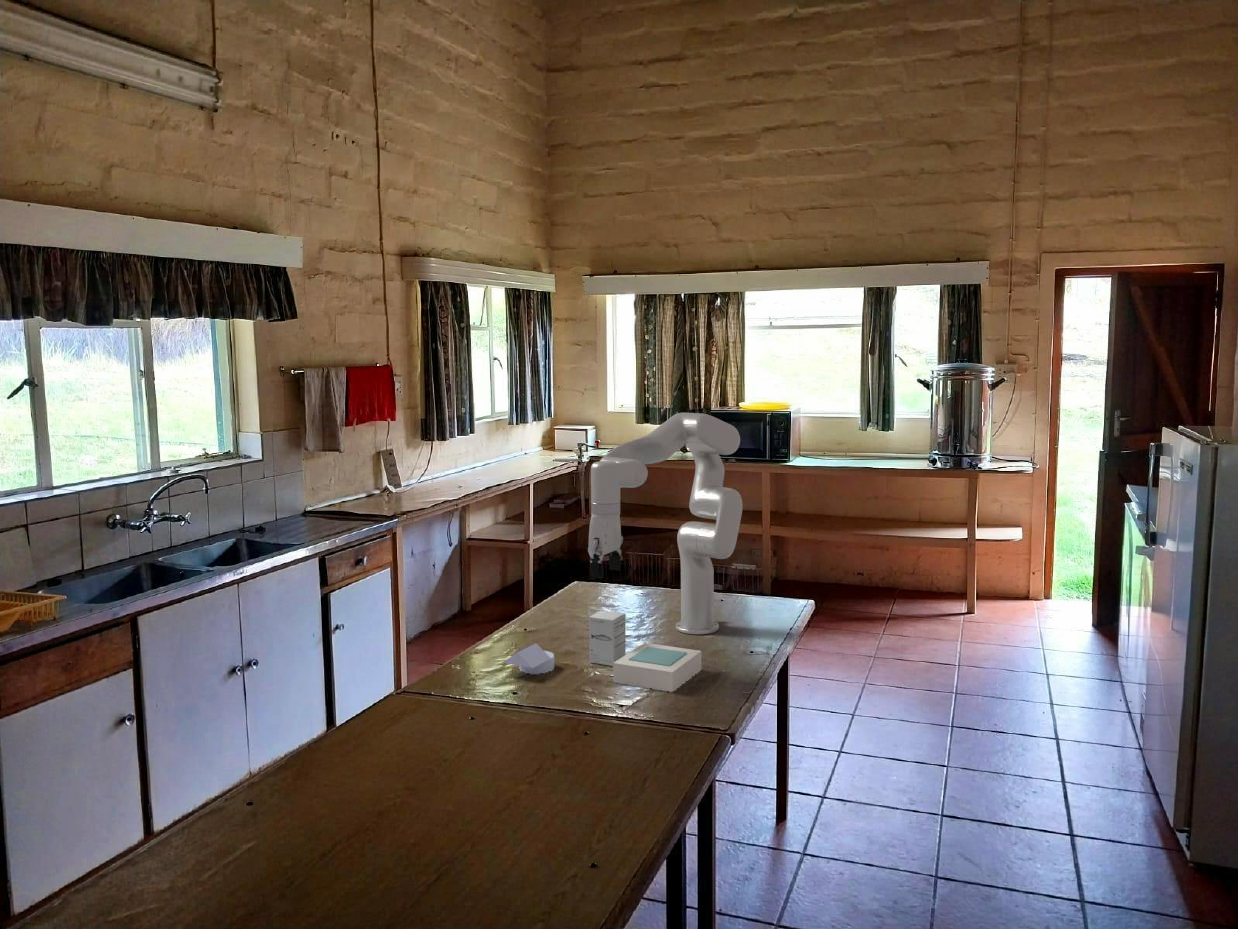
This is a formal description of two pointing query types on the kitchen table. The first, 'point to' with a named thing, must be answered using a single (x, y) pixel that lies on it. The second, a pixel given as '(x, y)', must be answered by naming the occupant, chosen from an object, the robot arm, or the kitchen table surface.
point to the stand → (657, 667)
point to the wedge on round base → (533, 660)
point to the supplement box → (607, 637)
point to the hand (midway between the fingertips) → (606, 573)
